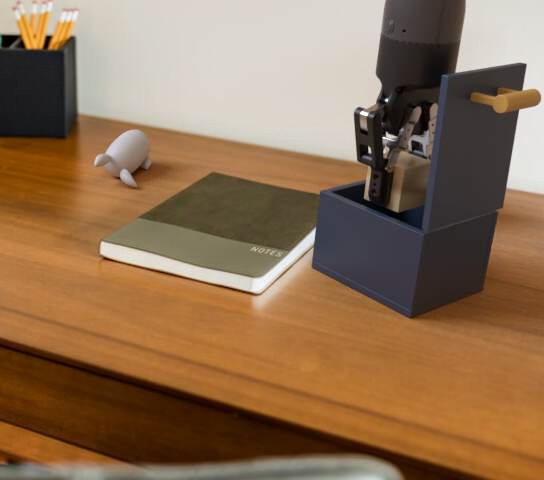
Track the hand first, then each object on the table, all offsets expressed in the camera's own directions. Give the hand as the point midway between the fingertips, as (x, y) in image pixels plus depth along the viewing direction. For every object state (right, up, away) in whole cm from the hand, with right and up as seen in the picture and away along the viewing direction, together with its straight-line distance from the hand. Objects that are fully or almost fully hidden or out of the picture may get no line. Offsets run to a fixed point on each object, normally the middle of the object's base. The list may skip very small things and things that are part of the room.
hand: (396, 198), depth 93 cm
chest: (+1, -8, +2) cm, 9 cm away
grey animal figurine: (-30, +4, +28) cm, 41 cm away
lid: (+5, +5, -9) cm, 11 cm away
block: (0, 0, 0) cm, 0 cm away
